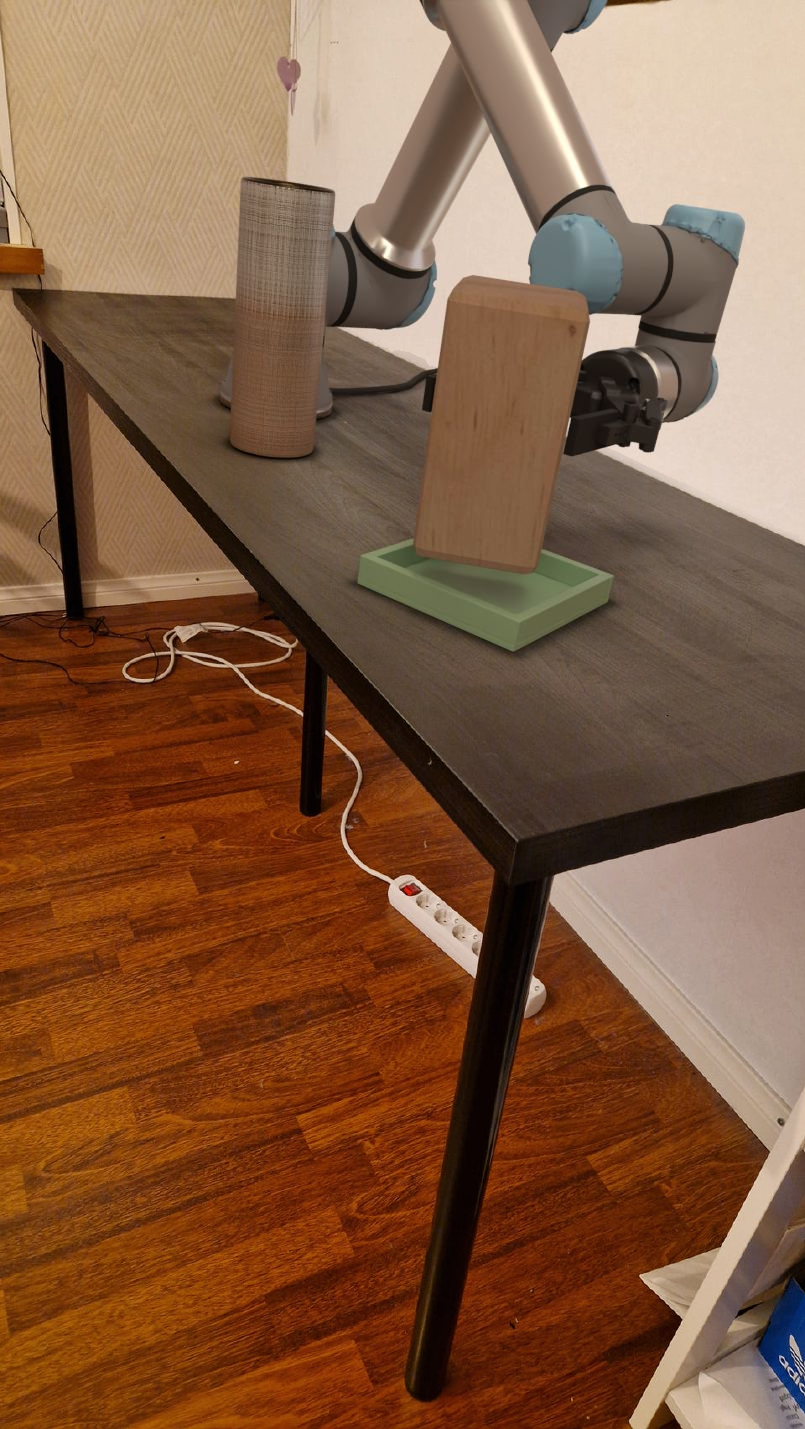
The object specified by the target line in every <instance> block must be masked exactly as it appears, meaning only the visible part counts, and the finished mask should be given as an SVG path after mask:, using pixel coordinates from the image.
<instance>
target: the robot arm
mask: <svg viewBox="0 0 805 1429" xmlns="http://www.w3.org/2000/svg"><path fill="white" fill-rule="evenodd" d="M419 2H420V5H421V7H422V9H423V11H424V14H425V16H426V18H427V19H428V21H429V22H430V23H431V24H432V26H434V27H435V28H436V29H438V30H440V31H443V32H445V33H446V35H447V37H448V40H449V42H450V43H449V46H448V48H447V50H446V52H445V55H444V56H443V59H442V61H441V63H440V65H439V67H438V69H437V71H436V73H435V75H434V77H433V80H432V82H431V84H430V86H429V87H428V90H427V92H426V94H425V96H424V99H423V100H422V102H421V105H420V107H419V109H418V111H417V113H416V116H415V118H414V120H413V122H412V123H411V125H410V128H409V130H408V132H407V134H406V136H405V138H404V141H403V143H402V145H401V147H400V149H399V151H398V152H397V155H396V157H395V159H394V162H393V164H392V166H391V168H390V170H389V172H388V174H387V176H386V178H385V181H384V183H383V185H382V187H381V189H380V191H379V193H378V194H377V197H376V199H375V202H372V203H367V204H364V205H362V206H361V207H359V208H358V210H357V211H356V213H355V216H354V218H353V219H352V222H351V224H350V226H349V228H348V230H347V231H336V229H335V225H334V224H333V229H332V241H331V252H330V264H329V275H328V287H327V299H326V310H325V322H324V333H323V345H322V356H321V368H320V379H319V391H318V402H317V414H316V420H318V419H323V418H326V417H328V416H330V415H331V414H332V412H333V411H332V410H333V402H334V401H333V395H340V396H341V395H342V396H343V395H363V394H364V395H365V394H376V393H377V394H378V393H387V392H396V391H401V390H404V389H408V388H411V387H413V386H414V385H415V384H416V383H418V382H419V381H421V380H422V379H423V378H425V383H424V390H423V391H424V392H423V399H422V406H421V411H424V412H426V413H432V405H433V398H434V391H435V384H436V377H437V370H438V367H436V368H431V369H426V370H423V371H421V372H419V373H418V374H416V375H415V376H413V377H412V378H411V379H410V380H408V381H406V382H402V383H396V384H387V385H376V386H363V387H330V384H329V376H328V370H327V364H326V360H325V359H326V358H325V353H324V352H325V339H326V338H325V337H326V330H327V329H326V328H349V329H350V328H351V329H353V328H354V329H373V330H375V329H376V330H380V331H382V330H384V331H388V330H393V329H402V328H403V329H404V328H407V327H409V326H411V325H413V324H415V323H417V322H418V321H419V320H420V319H421V318H422V317H423V316H424V315H425V313H426V312H427V311H428V309H429V307H430V305H431V303H432V301H433V299H434V295H435V292H436V287H435V286H434V283H435V281H437V280H438V268H437V261H436V254H437V252H436V247H435V244H434V238H435V236H436V234H437V232H438V230H439V229H440V227H441V225H442V223H443V222H444V220H445V218H446V217H447V214H448V212H449V210H450V209H451V207H452V206H453V203H454V201H455V200H456V198H457V196H458V194H459V192H460V191H461V189H462V187H463V186H464V183H465V182H466V180H467V178H468V176H469V174H470V173H471V170H472V169H473V166H474V165H475V163H476V162H477V160H478V158H479V156H480V154H481V153H482V151H483V149H484V147H485V145H486V143H487V141H488V140H489V138H490V136H492V138H493V141H494V143H495V144H496V147H497V150H498V152H499V154H500V156H501V159H502V161H503V163H504V166H505V167H506V170H507V172H508V175H509V177H510V180H511V181H512V183H513V186H514V189H515V190H516V193H517V195H518V198H519V199H520V201H521V204H522V206H523V209H524V211H525V212H526V215H527V217H528V219H529V221H530V225H531V226H532V229H533V231H534V234H535V235H534V238H533V240H532V242H531V245H530V249H529V252H528V253H529V254H528V257H527V258H528V259H527V265H528V266H529V277H528V282H529V284H534V285H540V286H547V287H553V288H560V289H566V290H572V291H578V292H579V293H581V294H582V295H584V296H585V297H586V301H587V306H588V311H589V316H592V315H594V314H595V315H597V314H598V315H601V314H602V315H626V316H640V318H639V323H638V328H637V329H638V330H637V335H636V338H635V343H634V345H633V346H622V347H619V348H613V349H612V348H611V349H604V350H598V351H595V352H592V353H590V354H589V355H586V357H584V358H582V362H581V367H580V372H579V376H578V381H577V386H576V390H575V395H574V400H573V404H572V409H571V414H570V419H569V423H568V428H567V433H566V437H565V442H564V447H563V452H562V455H566V456H568V457H575V456H576V457H577V456H579V455H583V454H587V453H590V452H594V451H597V450H598V451H599V450H601V449H605V448H608V447H609V448H610V447H612V446H618V447H620V448H630V446H631V444H632V443H634V444H635V443H636V444H638V450H640V451H642V452H643V453H649V454H650V453H654V452H655V448H656V444H657V441H658V438H659V433H660V431H661V429H662V425H663V424H664V423H666V424H667V423H676V422H679V421H682V420H684V419H685V418H689V417H690V416H692V415H694V414H695V413H698V412H699V411H700V410H702V409H703V408H705V407H706V406H707V404H709V402H710V401H711V400H712V399H713V397H714V395H715V393H716V390H717V388H718V383H719V368H718V364H717V359H716V358H715V356H714V355H713V353H714V351H715V350H714V349H715V346H716V342H717V341H716V339H717V335H718V333H719V329H720V325H721V323H722V319H723V315H724V311H725V308H726V305H727V301H728V299H729V295H730V291H731V288H732V284H733V281H734V279H735V278H734V277H735V274H736V271H737V268H738V266H739V263H740V258H739V257H740V252H741V248H742V243H743V240H744V235H745V232H746V231H745V230H746V221H745V219H744V218H743V216H742V215H741V214H739V213H737V212H732V211H726V210H719V209H713V208H708V207H707V208H706V207H700V206H694V205H686V204H679V203H674V204H672V205H671V206H669V207H668V208H667V210H666V212H665V215H664V217H663V221H662V223H661V224H648V223H647V224H646V223H639V222H633V221H631V220H630V218H629V217H628V215H627V213H626V211H625V209H624V206H623V205H622V203H621V200H620V199H619V197H618V195H617V192H616V190H615V188H614V186H613V184H612V182H611V180H610V178H609V175H608V173H607V171H606V169H605V166H604V165H603V162H602V160H601V158H600V156H599V154H598V152H597V149H596V146H595V145H594V143H593V141H592V139H591V136H590V134H589V131H588V130H587V127H586V125H585V123H584V121H583V118H582V116H581V114H580V112H579V110H578V107H577V106H576V103H575V101H574V99H573V97H572V94H571V93H570V91H569V88H568V86H567V83H566V82H565V79H564V78H563V75H562V73H561V70H560V69H559V67H558V64H557V62H556V60H555V57H554V55H553V54H552V53H553V51H554V49H555V47H556V46H557V44H558V43H559V40H560V39H561V37H562V35H563V34H565V35H574V34H576V33H579V32H580V31H582V30H586V29H588V28H589V27H591V25H592V24H594V23H595V21H596V20H597V19H598V18H599V16H600V15H601V13H602V12H603V10H604V8H605V6H606V5H607V3H608V0H419ZM233 351H234V349H233ZM233 351H232V353H231V356H230V358H229V359H230V360H229V362H228V366H227V370H226V374H225V377H223V378H222V380H221V384H220V389H219V401H220V403H222V405H223V406H225V407H227V408H229V409H231V398H232V374H233Z"/></svg>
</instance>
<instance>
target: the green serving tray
mask: <svg viewBox="0 0 805 1429" xmlns="http://www.w3.org/2000/svg"><path fill="white" fill-rule="evenodd" d="M413 540H414V537H413V538H409V539H407V540H404V541H401V542H397V543H394V544H391V545H388V546H385V547H382V548H379V549H376V550H372V551H369V552H366V553H363V554H360V557H359V565H358V574H357V581H356V582H357V584H358V585H360V586H363V587H365V588H366V589H369V590H372V591H373V592H376V593H377V594H380V595H383V596H385V597H387V598H388V599H389V598H390V599H391V600H394V601H396V602H398V603H401V604H403V605H405V606H407V607H409V608H412V609H415V610H416V611H420V612H421V613H424V614H426V615H428V616H430V617H433V618H435V619H437V620H439V621H442V622H445V623H446V624H448V625H451V626H452V627H453V626H454V627H455V628H458V629H460V630H462V631H465V632H467V633H469V634H471V635H474V636H476V637H478V638H480V639H483V640H485V641H487V642H488V643H489V642H490V643H492V644H494V645H496V646H498V647H501V648H503V649H505V650H508V651H509V652H512V653H515V652H516V651H518V650H520V649H522V648H524V647H526V646H528V645H530V644H531V643H533V642H535V641H537V640H539V639H541V638H543V637H545V636H547V635H548V634H550V633H552V632H554V631H556V630H558V629H560V628H562V627H564V626H565V625H567V624H570V623H571V622H573V621H574V620H577V619H578V618H580V617H582V616H584V615H586V614H588V613H590V612H592V611H595V610H596V609H597V608H599V607H601V606H603V605H605V604H607V603H608V602H609V598H610V593H611V590H612V587H613V583H614V579H615V575H613V574H611V573H609V572H606V571H603V570H600V569H598V568H595V567H592V566H590V565H587V564H585V563H582V562H579V561H575V560H573V559H570V558H568V557H565V556H562V555H560V554H557V553H555V552H552V551H550V550H546V549H545V548H544V549H543V548H542V550H541V555H540V560H539V564H538V566H537V568H536V569H535V570H534V572H533V573H531V574H518V573H512V572H506V571H500V570H495V569H489V568H483V567H477V566H472V565H466V564H460V563H455V562H449V561H443V560H437V559H432V558H426V557H423V556H421V555H419V554H417V553H416V552H415V548H414V545H413Z"/></svg>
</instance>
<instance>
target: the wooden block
mask: <svg viewBox="0 0 805 1429" xmlns="http://www.w3.org/2000/svg"><path fill="white" fill-rule="evenodd" d="M444 313H445V314H444V320H443V326H442V327H443V329H442V336H441V342H440V349H439V358H438V364H437V368H438V370H437V377H436V384H435V391H434V398H433V405H432V412H430V413H431V414H430V421H429V427H428V433H427V442H426V449H425V455H424V456H425V457H424V461H423V462H424V464H423V471H422V477H421V478H422V479H421V483H420V484H421V485H420V491H419V499H418V505H417V513H416V520H415V526H414V534H413V538H414V540H413V545H414V548H415V552H416V553H417V554H419V555H421V556H423V557H426V558H432V559H437V560H443V561H449V562H455V563H460V564H466V565H472V566H477V567H483V568H489V569H495V570H500V571H506V572H512V573H518V574H531V573H533V572H534V570H535V569H536V568H537V566H538V564H539V560H540V555H541V550H542V549H543V546H544V540H545V536H546V531H547V526H548V522H549V517H550V513H551V512H550V511H551V508H552V503H553V498H554V494H555V489H556V484H557V479H558V475H559V470H560V465H561V460H562V456H563V452H564V448H565V443H566V438H567V434H568V429H569V424H570V420H571V418H570V414H571V409H572V404H573V400H574V395H575V390H576V386H577V381H578V376H579V372H580V367H581V362H582V360H583V356H584V351H585V348H586V347H585V346H586V344H587V343H586V342H587V338H588V334H589V329H590V323H591V318H590V315H589V311H588V306H587V301H586V297H585V296H584V295H582V294H581V293H579V292H578V291H572V290H566V289H560V288H553V287H547V286H540V285H534V284H530V283H527V282H520V281H515V280H507V279H502V278H494V277H488V276H483V275H476V274H472V275H468V276H463V277H462V279H460V281H458V283H457V284H456V285H455V286H454V287H453V288H452V289H451V292H450V293H449V295H448V297H447V300H446V307H445V312H444Z"/></svg>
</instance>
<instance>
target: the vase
mask: <svg viewBox="0 0 805 1429" xmlns="http://www.w3.org/2000/svg"><path fill="white" fill-rule="evenodd" d="M335 204H336V191H335V190H334V189H332V188H328V187H322V186H318V185H312V184H306V183H300V182H294V181H287V180H280V179H274V178H273V179H272V178H264V177H257V176H256V177H254V176H242V177H241V179H240V191H239V211H238V212H239V214H238V237H237V258H236V260H237V261H236V262H237V263H236V285H235V304H234V305H235V306H234V307H235V310H234V327H233V328H234V329H233V330H234V331H233V350H234V351H232V353H233V374H232V398H231V408H230V421H229V422H230V423H229V436H230V438H229V442H230V444H231V446H232V447H233V448H235V449H236V450H238V451H241V452H243V453H246V454H249V455H254V456H257V457H263V458H269V459H283V460H284V459H299V458H303V457H307V456H309V455H311V453H313V450H314V444H315V436H316V426H317V425H316V423H317V419H316V414H317V402H318V391H319V379H320V368H321V356H322V345H323V333H324V322H325V310H326V299H327V287H328V275H329V264H330V252H331V241H332V229H333V225H334V219H335V218H334V216H335Z"/></svg>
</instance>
